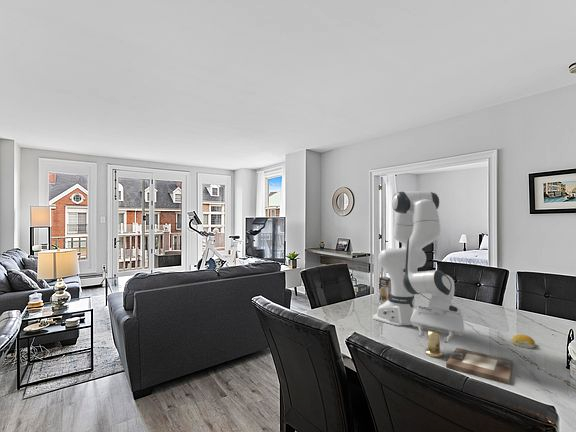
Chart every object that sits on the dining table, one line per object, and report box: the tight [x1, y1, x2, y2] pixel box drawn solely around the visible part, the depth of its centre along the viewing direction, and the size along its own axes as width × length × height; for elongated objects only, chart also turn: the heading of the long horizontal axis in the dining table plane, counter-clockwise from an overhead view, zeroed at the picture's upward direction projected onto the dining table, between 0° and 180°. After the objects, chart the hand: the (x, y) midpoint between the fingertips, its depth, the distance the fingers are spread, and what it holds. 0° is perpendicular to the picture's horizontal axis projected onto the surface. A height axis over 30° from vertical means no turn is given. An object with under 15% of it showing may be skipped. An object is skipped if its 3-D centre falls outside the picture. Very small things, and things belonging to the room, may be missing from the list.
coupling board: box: [445, 347, 514, 385], centre depth 117 cm, size 19×18×3 cm
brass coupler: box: [424, 329, 444, 359], centre depth 127 cm, size 6×6×9 cm
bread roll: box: [511, 334, 536, 349], centre depth 137 cm, size 8×9×4 cm
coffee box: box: [378, 276, 391, 304], centre depth 204 cm, size 9×6×16 cm
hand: (433, 339), depth 127 cm, fingers open, 8 cm apart
